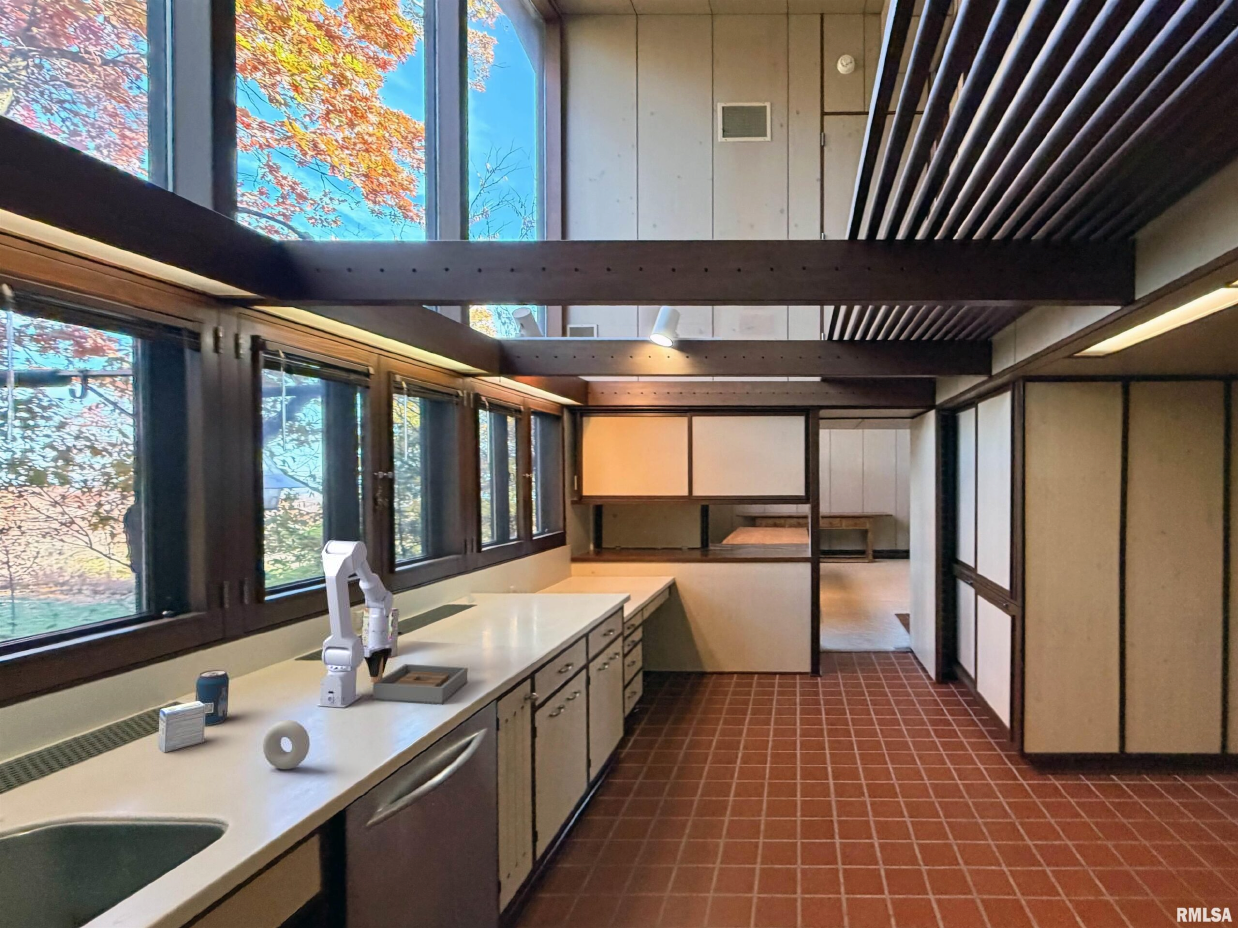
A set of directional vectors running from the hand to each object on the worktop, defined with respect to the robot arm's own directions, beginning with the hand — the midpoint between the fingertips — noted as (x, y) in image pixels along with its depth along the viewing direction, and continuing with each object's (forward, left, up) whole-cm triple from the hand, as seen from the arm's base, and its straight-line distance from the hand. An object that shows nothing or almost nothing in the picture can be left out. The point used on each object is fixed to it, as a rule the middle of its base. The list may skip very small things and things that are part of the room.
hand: (377, 674), depth 195 cm
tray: (-6, -17, -2) cm, 18 cm away
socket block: (-6, -17, -2) cm, 18 cm away
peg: (0, 0, -2) cm, 2 cm away
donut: (-59, -10, -2) cm, 60 cm away
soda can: (-38, +24, -2) cm, 45 cm away
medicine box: (-52, +20, -2) cm, 56 cm away
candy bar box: (+27, +13, -2) cm, 30 cm away
